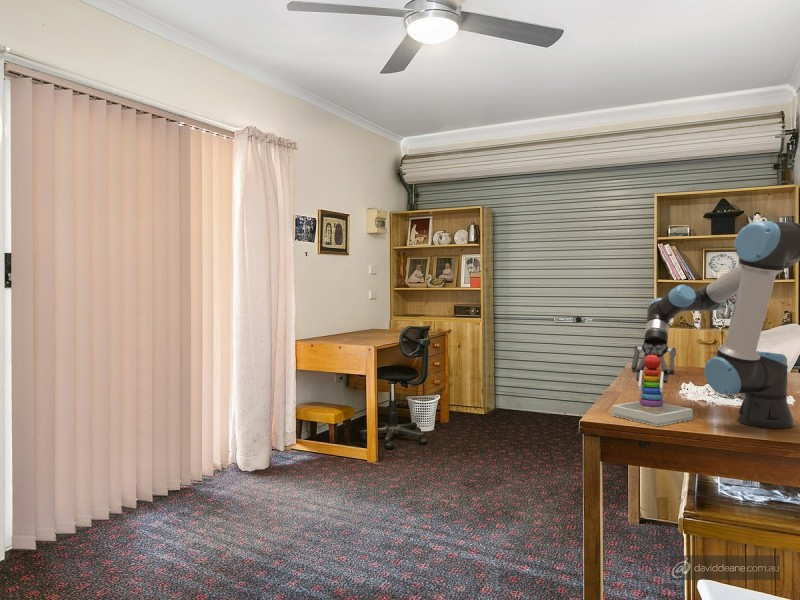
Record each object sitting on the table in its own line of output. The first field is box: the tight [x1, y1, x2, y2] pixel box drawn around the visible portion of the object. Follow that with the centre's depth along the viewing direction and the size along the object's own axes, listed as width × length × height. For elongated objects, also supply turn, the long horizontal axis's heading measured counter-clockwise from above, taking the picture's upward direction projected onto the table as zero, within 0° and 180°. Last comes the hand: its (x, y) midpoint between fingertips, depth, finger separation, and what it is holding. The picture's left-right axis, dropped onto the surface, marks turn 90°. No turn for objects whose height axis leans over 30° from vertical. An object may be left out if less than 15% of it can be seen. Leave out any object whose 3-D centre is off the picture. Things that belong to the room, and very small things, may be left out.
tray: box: [611, 400, 694, 427], centre depth 197 cm, size 18×18×4 cm
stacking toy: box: [638, 355, 665, 412], centre depth 196 cm, size 8×8×19 cm
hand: (650, 388), depth 193 cm, fingers closed on stacking toy, 6 cm apart
